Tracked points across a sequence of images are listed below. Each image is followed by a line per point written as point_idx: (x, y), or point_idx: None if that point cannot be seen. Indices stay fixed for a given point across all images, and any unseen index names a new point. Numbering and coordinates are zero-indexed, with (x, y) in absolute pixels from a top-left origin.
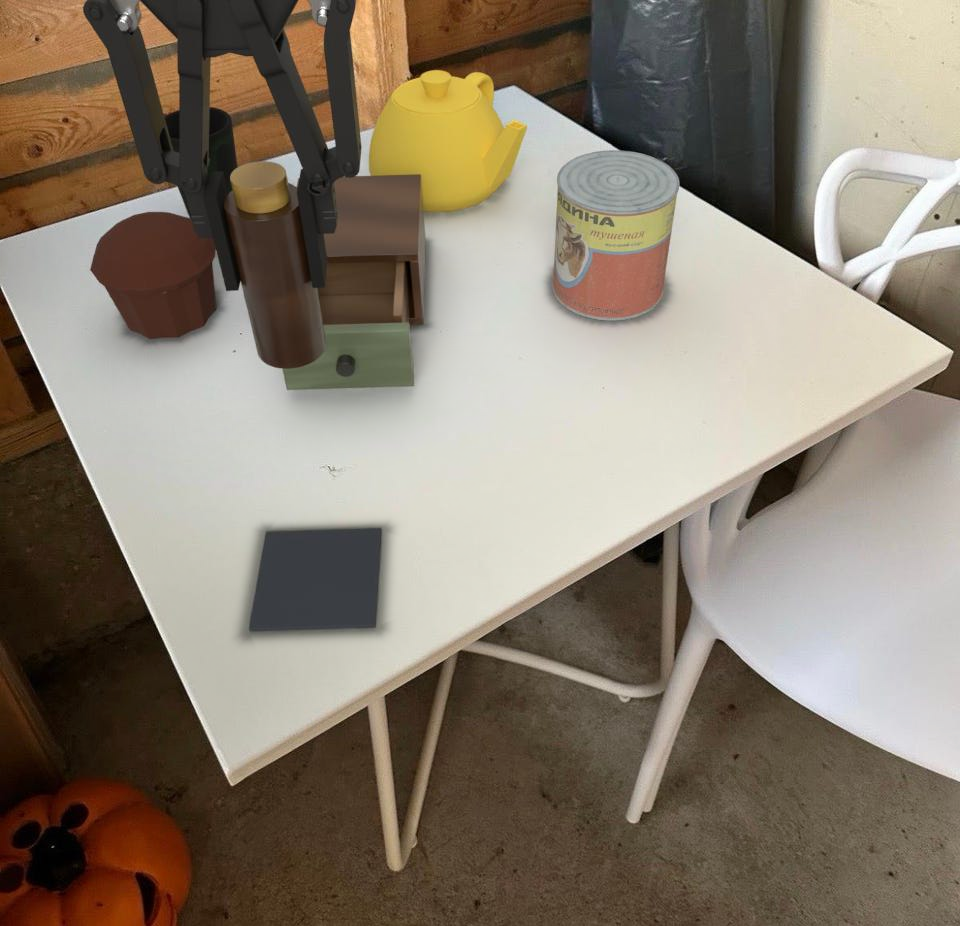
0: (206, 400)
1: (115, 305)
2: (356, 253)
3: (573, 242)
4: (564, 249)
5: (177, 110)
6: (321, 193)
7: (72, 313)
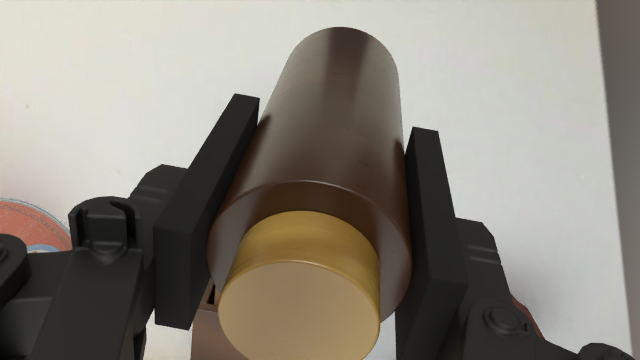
0: (464, 193)
1: (541, 333)
2: None
3: None
4: None
5: None
6: (106, 199)
7: (580, 343)
